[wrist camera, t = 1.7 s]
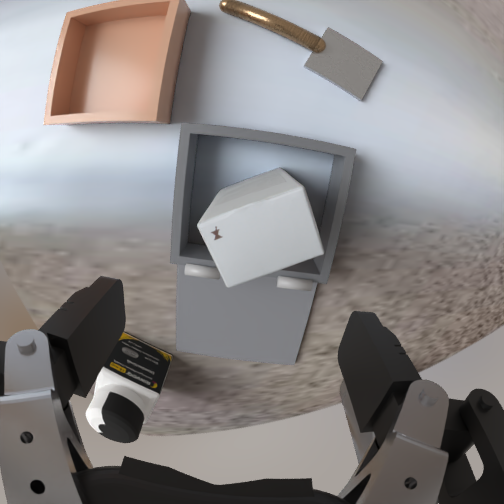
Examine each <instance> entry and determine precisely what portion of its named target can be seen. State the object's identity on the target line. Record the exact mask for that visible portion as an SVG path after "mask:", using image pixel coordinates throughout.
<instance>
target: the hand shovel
mask: <svg viewBox="0 0 504 504" xmlns="http://www.w3.org/2000/svg"><path fill="white" fill-rule="evenodd" d="M219 7H220V9H221V11H223V12H225V13H228V14H231V15H234V16H236V17H239V18H242V19H244V20H247V21H249V22H252V23H254V24H257V25H259V26H261V27H264V28H266V29H268V30H271V31H273V32H275V33H277V34H279V35H282V36H284V37H286V38H288V39H290V40H292V41H294V42H296V43H298V44H300V45H302V46H304V47H306V48H308V49H309V50H311V51H313V52H312V54H311V55H310V57H309V58H308V60H307V62H306V63H305V65H304V67H305V68H306V69H308V70H310V71H312V72H314V73H315V74H317V75H319V76H321V77H322V78H324V79H326V80H328V81H329V82H331V83H333V84H334V85H336V86H337V87H339V88H341V89H342V90H344V91H345V92H347V93H349V94H350V95H352V96H353V97H355V98H356V99H358V100H359V101H360V100H362V98H363V96H364V95H365V93H366V91H367V89H368V87H369V85H370V84H371V82H372V80H373V78H374V76H375V75H376V73H377V71H378V69H379V67H380V65H381V64H382V62H383V61H382V60H380V59H379V58H377V57H376V56H374V55H373V54H371V53H370V52H368V51H367V50H365V49H364V48H362V47H361V46H359V45H358V44H356V43H354V42H353V41H351V40H350V39H348V38H346V37H345V36H343V35H341V34H339V33H338V32H336V31H334V30H332V29H331V28H329V27H328V28H327V30H326V31H325V33H324V34H323V36H322V38H320V37H318V36H317V35H315V34H313V33H311V32H309V31H307V30H305V29H303V28H301V27H299V26H297V25H295V24H293V23H291V22H289V21H286V20H284V19H282V18H280V17H278V16H275V15H273V14H271V13H268V12H266V11H263V10H261V9H258V8H256V7H253V6H251V5H248V4H245V3H243V2H240V1H237V0H222V1H221V2H220V4H219Z"/></svg>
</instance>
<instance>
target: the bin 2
mask: <svg viewBox="0 0 504 504" xmlns="http://www.w3.org/2000/svg"><path fill="white" fill-rule="evenodd" d="M198 134H199V135H210V136H220V137H229V138H238V139H246V140H253V141H260V142H267V143H274V144H280V145H286V146H292V147H298V148H303V149H309V150H314V151H319V152H324V153H329V154H334V160H333V165H332V171H331V177H330V182H329V187H328V193H327V198H326V203H325V208H324V213H323V218H322V223H321V228H320V232H319V235H320V239H321V242H322V246H323V249H324V254H323V255H320V256H317V257H314V259H313V260H311V259H309V260H306V261H303V262H300V263H298V264H295V265H292V266H290V267H287V268H284V269H281V270H279V271H276V272H273V273H271V274H268V275H265V276H262V277H259V278H256V279H254V280H251V281H248V282H245V283H242V284H239V285H236V286H233V287H230V288H228V287H227V286H226V285H225V283H224V281H223V278H222V276H221V274H220V272H219V270H218V268H217V266H216V264H215V262H214V260H213V258H212V256H211V254H210V252H209V250H208V247H207V245H200V244H192V243H188V234H189V220H190V208H191V197H192V187H193V177H194V168H195V159H196V150H197V142H198ZM355 153H356V149H354V148H350V147H345V146H341V145H336V144H332V143H327V142H323V141H318V140H313V139H307V138H302V137H297V136H291V135H285V134H279V133H273V132H266V131H259V130H252V129H244V128H236V127H227V126H217V125H206V124H193V123H182V124H181V131H180V139H179V148H178V157H177V167H176V177H175V189H174V202H173V216H172V233H171V256H170V263H172V264H177V295H176V351H182V352H187V353H194V354H200V355H206V356H213V357H220V358H228V359H236V360H244V361H253V362H263V363H274V364H286V365H294V364H295V361H296V358H297V354H298V351H299V348H300V344H301V341H302V338H303V334H304V331H305V327H306V324H307V320H308V316H309V313H310V309H311V306H312V302H313V298H314V294H315V290H316V287H317V283H323V284H327V281H328V278H329V274H330V270H331V266H332V262H333V258H334V254H335V250H336V246H337V242H338V237H339V233H340V229H341V224H342V220H343V215H344V211H345V206H346V201H347V196H348V191H349V186H350V181H351V176H352V170H353V165H354V159H355Z"/></svg>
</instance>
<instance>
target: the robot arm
mask: <svg viewBox="0 0 504 504" xmlns="http://www.w3.org/2000/svg"><path fill="white" fill-rule="evenodd" d="M125 322H126V317H125V306H124V293H123V284H122V281H121V280H120V279H114V278H109V277H104V276H100V277H99V278H98V279H97V280H96V281H95V282H94V283H93V284H92V285H91V286H90V287H89V288H88V287H85V288H83V289H81V290H79V291H77V292H75V293H74V294H73V295H72V296H71V297H70V298H69V299H68V300H67V302H65V303H64V304H63V305H62V306H61V307H60V309H58V310H57V311H56V312H55V313H54V314H53V315H52V316H51V317H50V318H49V319H48V320H47V321H46V323H45V324H44V325H43V326H42V327H41V328H40V329H39V330H33V329H28V330H23V331H20V332H17V333H16V334H14V335H13V336H11V338H9V340H8V341H7V342H4V341H0V468H1V474H2V480H3V485H4V490H5V494H6V498H7V503H8V504H438V503H439V504H504V410H503V409H502V407H501V405H500V403H499V401H498V400H497V399H496V397H495V396H494V395H493V394H491V393H490V392H488V391H486V390H483V389H474V390H473V391H471V392H470V394H469V395H468V397H467V398H466V400H465V401H463V400H455V399H449V398H448V395H447V394H446V392H445V391H444V389H442V387H440V386H439V385H437V384H436V383H434V382H432V381H429V380H422V379H421V377H420V375H419V374H418V372H417V370H416V368H415V367H414V365H413V363H412V362H411V360H410V358H409V357H408V355H406V352H405V350H404V348H403V347H401V344H400V342H399V340H398V339H397V337H396V336H395V335H394V334H393V333H392V332H391V331H390V330H388V329H387V328H386V327H383V325H382V324H381V322H380V321H379V319H378V317H377V316H376V314H375V313H373V312H360V311H354V312H353V313H352V314H351V316H350V318H349V321H348V324H347V327H346V329H345V332H344V335H343V338H342V340H341V343H340V346H339V350H338V363H339V366H340V369H341V372H342V375H343V378H344V381H343V383H342V384H341V388H340V395H341V399H342V404H343V406H344V410H345V414H346V418H347V420H348V425H349V428H350V432H351V436H352V440H353V444H354V447H355V451H356V455H357V459H358V463H359V465H358V467H357V469H356V470H355V472H354V474H353V475H352V477H351V479H350V480H349V482H348V483H347V485H346V486H345V487H344V489H343V490H342V491H341V492H340V493H339V495H338V496H335V495H332V494H330V493H327V492H323V491H320V490H315V489H313V487H312V479H311V478H307V479H262V480H256V481H249V482H242V483H234V484H225V485H214V484H211V483H208V482H205V481H202V480H200V479H197V478H194V477H192V476H189V475H187V474H184V473H182V472H179V471H177V470H174V469H172V468H170V467H166V466H161V465H157V464H153V463H148V462H145V461H141V460H137V459H133V458H129V457H126V456H124V459H123V462H122V465H121V466H104V467H96V468H93V466H92V464H91V462H90V460H89V458H88V456H87V454H86V451H85V449H84V445H83V443H82V439H81V436H80V433H79V430H78V427H77V424H76V420H75V416H74V413H73V409H72V405H71V403H70V398H71V397H72V395H73V394H76V395H79V396H82V397H84V398H86V396H87V394H88V393H89V391H90V389H91V387H92V385H93V384H94V382H95V380H96V378H97V376H98V375H99V373H100V371H101V369H102V368H103V366H104V364H105V363H106V361H107V359H108V357H109V356H110V354H111V352H112V351H113V349H114V347H115V346H116V344H117V342H118V341H119V339H120V337H121V336H122V334H123V332H124V328H125ZM474 444H475V446H476V448H477V451H478V453H479V455H480V457H481V460H482V462H483V465H484V470H483V474H482V476H481V477H480V479H479V480H477V481H476V479H475V476H474V474H473V471H472V469H471V467H470V464H469V461H468V459H467V456H466V454H465V453H466V452H467V451H468V450H469V449H470V448H471V447H472V446H473V445H474Z"/></svg>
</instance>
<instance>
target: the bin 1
mask: <svg viewBox="0 0 504 504" xmlns="http://www.w3.org/2000/svg"><path fill="white" fill-rule="evenodd" d="M190 12H191V11H190V9H189V7H188V5H187V3H186V2H185V0H119V1H113V2H108V3H103V4H98V5H94V6H90V7H85V8H81V9H78V10H74V11H70V12H67V13H66V16H65V20H64V23H63V26H62V30H61V33H60V37H59V41H58V44H57V48H56V53H55V57H54V61H53V66H52V71H51V76H50V82H49V87H48V94H47V101H46V108H45V116H44V125H74V124H94V123H157V124H170V120H171V113H172V106H173V99H174V92H175V86H176V80H177V74H178V69H179V63H180V58H181V53H182V48H183V43H184V38H185V33H186V29H187V24H188V20H189V16H190Z"/></svg>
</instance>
